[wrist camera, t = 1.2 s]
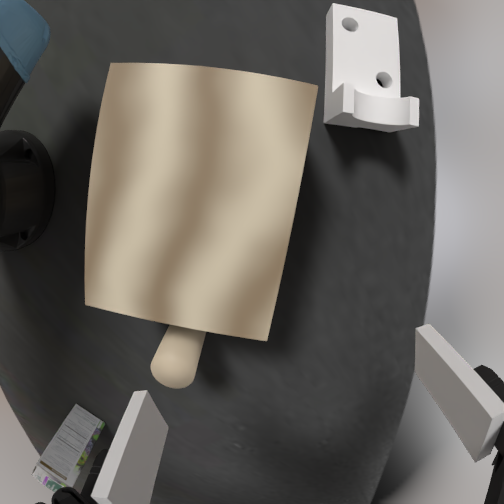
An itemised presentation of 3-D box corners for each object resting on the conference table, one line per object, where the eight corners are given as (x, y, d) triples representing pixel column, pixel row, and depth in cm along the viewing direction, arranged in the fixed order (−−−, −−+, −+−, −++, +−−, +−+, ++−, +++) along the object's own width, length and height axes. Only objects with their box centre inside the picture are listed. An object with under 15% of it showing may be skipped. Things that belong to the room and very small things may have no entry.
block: (160, 329, 36) (135, 379, 27) (184, 130, 31) (156, 116, 21) (218, 340, 37) (209, 395, 27) (253, 140, 31) (253, 129, 21)
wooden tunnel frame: (135, 260, 34) (85, 304, 22) (158, 95, 29) (110, 63, 18) (262, 283, 35) (266, 341, 23) (294, 114, 30) (318, 85, 18)
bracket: (385, 133, 31) (418, 126, 23) (323, 123, 31) (342, 111, 23) (385, 29, 27) (412, 3, 20) (325, 16, 27) (342, -15, 20)
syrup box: (95, 437, 42) (65, 499, 28) (66, 417, 41) (30, 476, 27) (106, 422, 41) (73, 489, 27) (74, 401, 40) (34, 464, 26)
